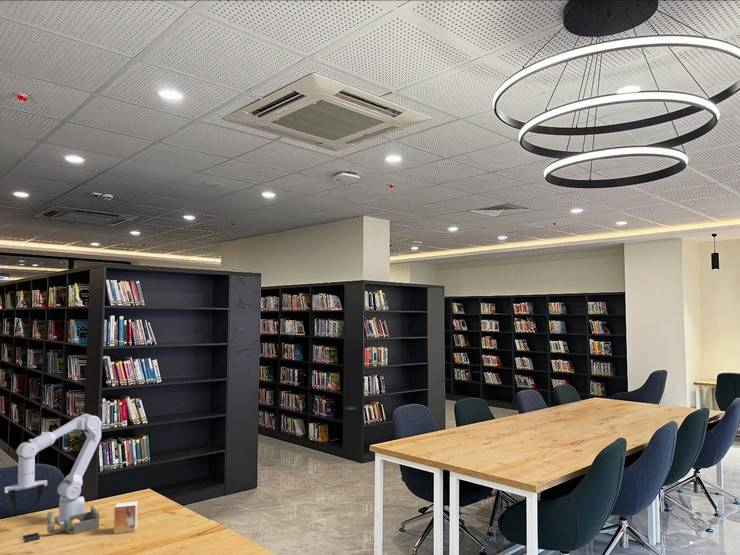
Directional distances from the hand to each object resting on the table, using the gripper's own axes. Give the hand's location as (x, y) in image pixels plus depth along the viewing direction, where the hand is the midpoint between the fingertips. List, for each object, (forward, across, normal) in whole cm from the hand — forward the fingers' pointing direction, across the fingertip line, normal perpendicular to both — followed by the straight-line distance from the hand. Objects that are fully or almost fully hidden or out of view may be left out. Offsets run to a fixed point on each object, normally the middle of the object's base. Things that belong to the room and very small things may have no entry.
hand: (25, 507), depth 222 cm
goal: (+10, +20, -10) cm, 24 cm away
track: (+10, +1, -10) cm, 14 cm away
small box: (+10, +32, -25) cm, 42 cm away
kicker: (+10, +11, -10) cm, 18 cm away
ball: (+8, +16, -10) cm, 21 cm away
